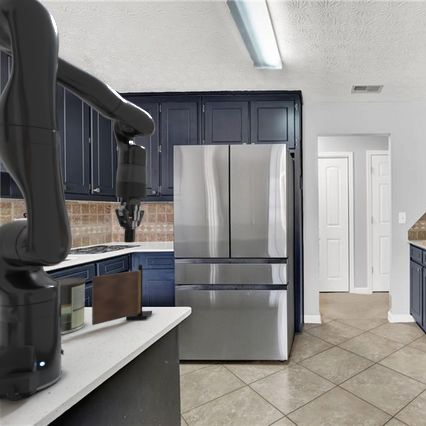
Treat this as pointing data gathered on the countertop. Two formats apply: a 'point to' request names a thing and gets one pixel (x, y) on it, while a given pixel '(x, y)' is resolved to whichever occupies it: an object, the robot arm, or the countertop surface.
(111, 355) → the countertop surface
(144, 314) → the hinge post
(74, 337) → the countertop surface
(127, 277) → the door
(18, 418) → the countertop surface
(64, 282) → the coffee can
